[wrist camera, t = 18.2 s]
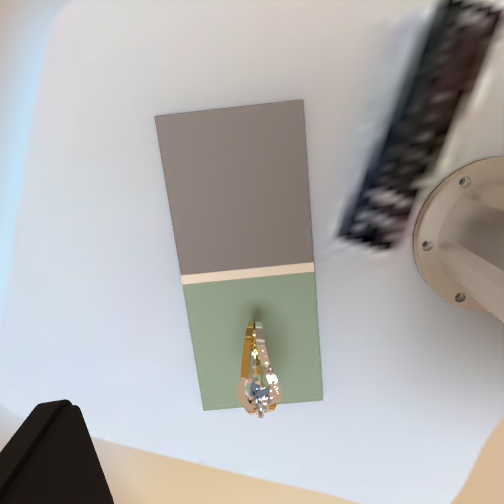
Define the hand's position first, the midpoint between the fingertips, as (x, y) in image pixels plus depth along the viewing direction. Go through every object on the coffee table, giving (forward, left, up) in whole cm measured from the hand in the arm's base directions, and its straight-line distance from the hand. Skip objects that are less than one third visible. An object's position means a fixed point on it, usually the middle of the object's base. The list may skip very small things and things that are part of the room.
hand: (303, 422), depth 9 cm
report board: (+2, +6, -26) cm, 27 cm away
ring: (+2, +12, -26) cm, 29 cm away
